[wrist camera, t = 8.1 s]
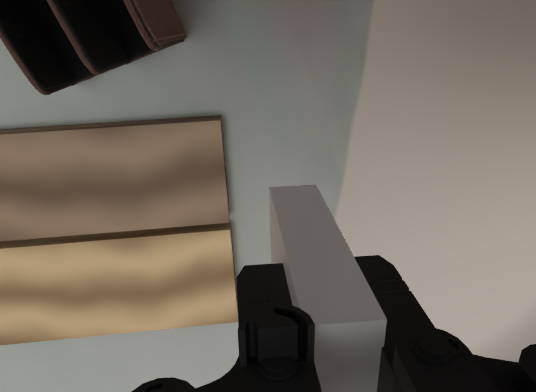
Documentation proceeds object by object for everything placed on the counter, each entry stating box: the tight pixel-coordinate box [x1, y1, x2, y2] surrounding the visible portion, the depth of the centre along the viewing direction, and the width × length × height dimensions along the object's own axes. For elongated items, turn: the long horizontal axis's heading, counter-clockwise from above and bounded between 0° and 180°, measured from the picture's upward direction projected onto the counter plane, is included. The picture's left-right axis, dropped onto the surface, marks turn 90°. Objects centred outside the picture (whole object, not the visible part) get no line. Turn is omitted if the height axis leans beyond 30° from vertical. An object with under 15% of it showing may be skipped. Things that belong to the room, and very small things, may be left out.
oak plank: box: [0, 221, 238, 345], centre depth 40 cm, size 10×24×2 cm, turn 93°
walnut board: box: [0, 115, 229, 241], centre depth 36 cm, size 9×24×2 cm, turn 93°
